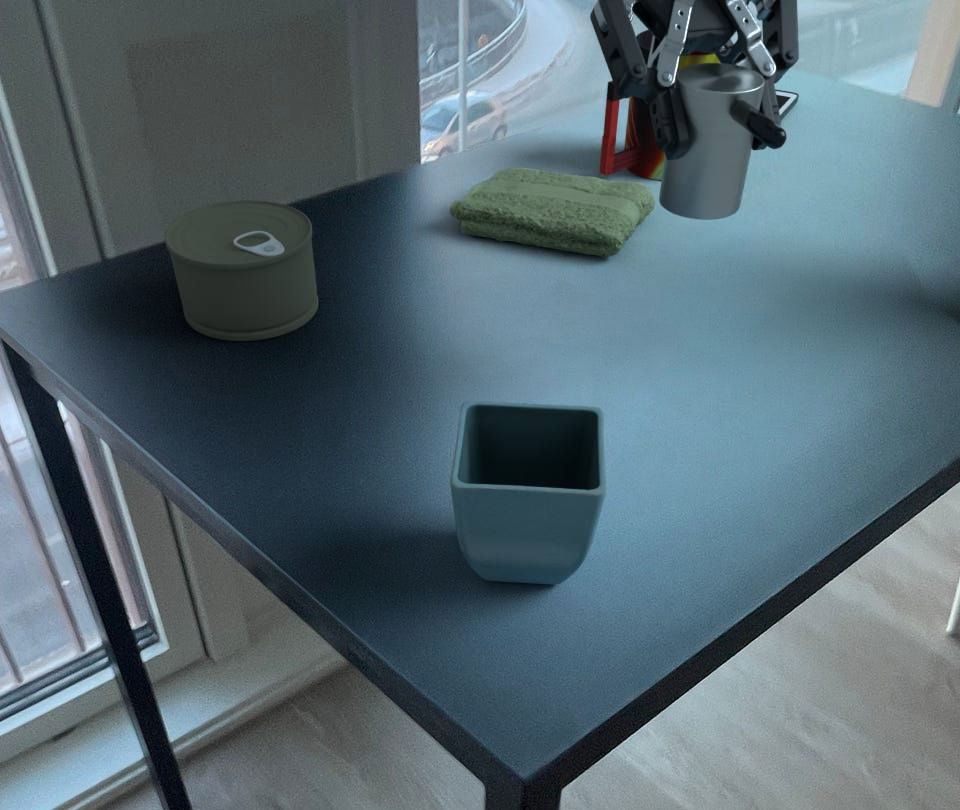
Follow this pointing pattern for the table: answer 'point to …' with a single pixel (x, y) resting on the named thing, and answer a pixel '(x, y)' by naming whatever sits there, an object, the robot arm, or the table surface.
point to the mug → (638, 124)
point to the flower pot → (527, 488)
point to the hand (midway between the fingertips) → (722, 148)
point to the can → (244, 269)
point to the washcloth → (555, 210)
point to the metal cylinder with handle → (716, 140)
